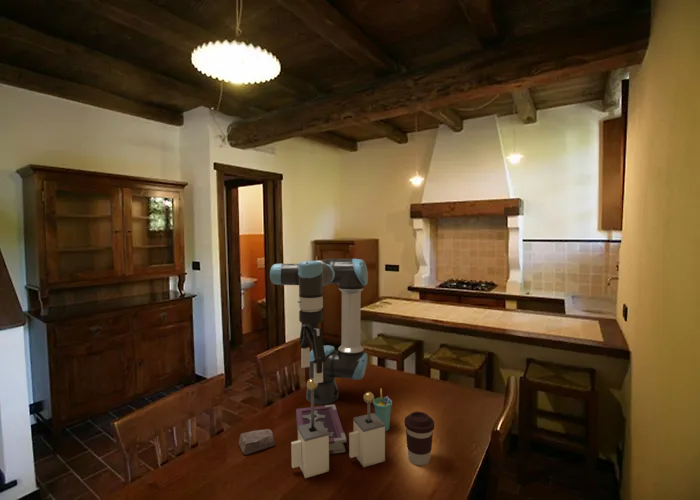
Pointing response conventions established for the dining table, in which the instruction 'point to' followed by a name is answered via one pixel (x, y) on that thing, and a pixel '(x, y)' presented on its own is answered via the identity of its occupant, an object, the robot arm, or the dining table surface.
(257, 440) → the stone
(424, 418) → the coffee cup
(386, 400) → the cup
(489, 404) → the dining table surface
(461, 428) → the dining table surface
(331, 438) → the book
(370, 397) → the plunger
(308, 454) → the cream joystick box
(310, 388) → the plunger
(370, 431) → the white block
